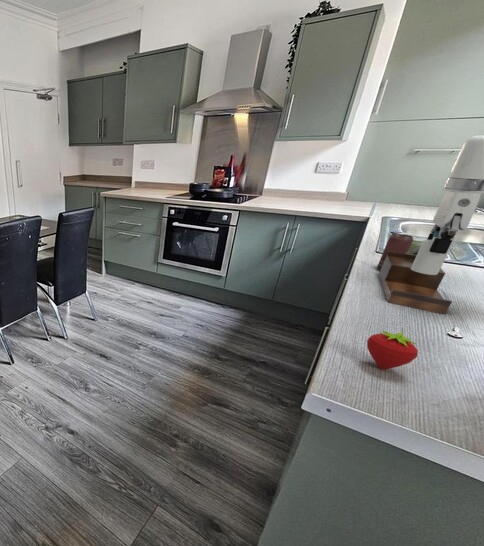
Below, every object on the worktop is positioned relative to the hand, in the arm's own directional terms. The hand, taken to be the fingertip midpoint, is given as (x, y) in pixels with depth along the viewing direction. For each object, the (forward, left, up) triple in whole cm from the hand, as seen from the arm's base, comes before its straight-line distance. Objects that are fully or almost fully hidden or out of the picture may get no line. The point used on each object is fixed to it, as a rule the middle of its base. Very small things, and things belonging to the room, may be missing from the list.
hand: (434, 249), depth 90 cm
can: (+3, -27, -17) cm, 32 cm away
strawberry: (+11, +49, -17) cm, 53 cm away
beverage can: (-5, -36, -17) cm, 40 cm away
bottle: (0, 0, -7) cm, 7 cm away
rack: (0, -6, -16) cm, 17 cm away
